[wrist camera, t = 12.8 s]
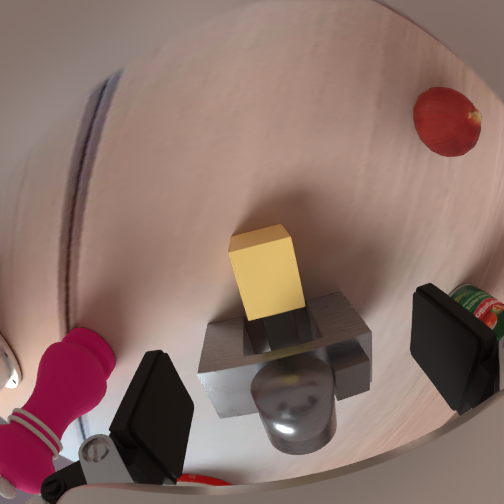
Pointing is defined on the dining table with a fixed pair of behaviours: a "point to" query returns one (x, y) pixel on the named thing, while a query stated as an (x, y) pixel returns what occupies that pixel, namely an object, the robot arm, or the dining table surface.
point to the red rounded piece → (447, 121)
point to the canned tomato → (481, 306)
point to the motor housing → (290, 374)
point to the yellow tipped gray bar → (268, 281)
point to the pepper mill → (53, 409)
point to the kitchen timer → (199, 481)
